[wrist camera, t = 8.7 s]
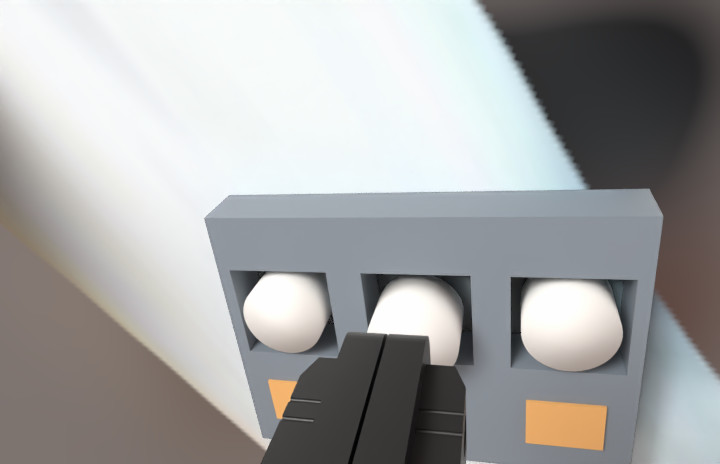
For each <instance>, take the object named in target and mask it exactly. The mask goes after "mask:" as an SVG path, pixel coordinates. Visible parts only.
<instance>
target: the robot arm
mask: <svg viewBox="0 0 720 464" xmlns="http://www.w3.org/2000/svg"><path fill="white" fill-rule="evenodd" d="M466 454H467V432H466V387H465V385H464V383H463V381H462V379H461V377H460V375H459V373H458V371H457V369H456V367H455V366H444V365H431V359H430V342H429V337H428V336H422V335H404V334H389V335H387V334H383V333H365V332H348V333H347V334H346V336H345V338H344V341H343V344H342V346H341V349H340V352H339V354H338V357H337V358H324V357H319V358H318V359H317V360H316V361H315V362H314V363H313V364H311V365H310V366H309V367H308V368H307V369H306V370H305V371H304V372H303V373H302V374H301V375H300V377H299V379H298V381H297V384H296V386H295V388H294V390H293V393H292V395H291V397H290V402H288V404H287V406H286V408H285V410H284V413H283V415H282V420H280V422H279V424H278V426H277V428H276V431H275V433H274V435H273V437H272V440H271V442H270V444H269V446H268V449H267V451H266V453H265V455H264V457H263V460H262V462H261V464H466Z"/></svg>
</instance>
